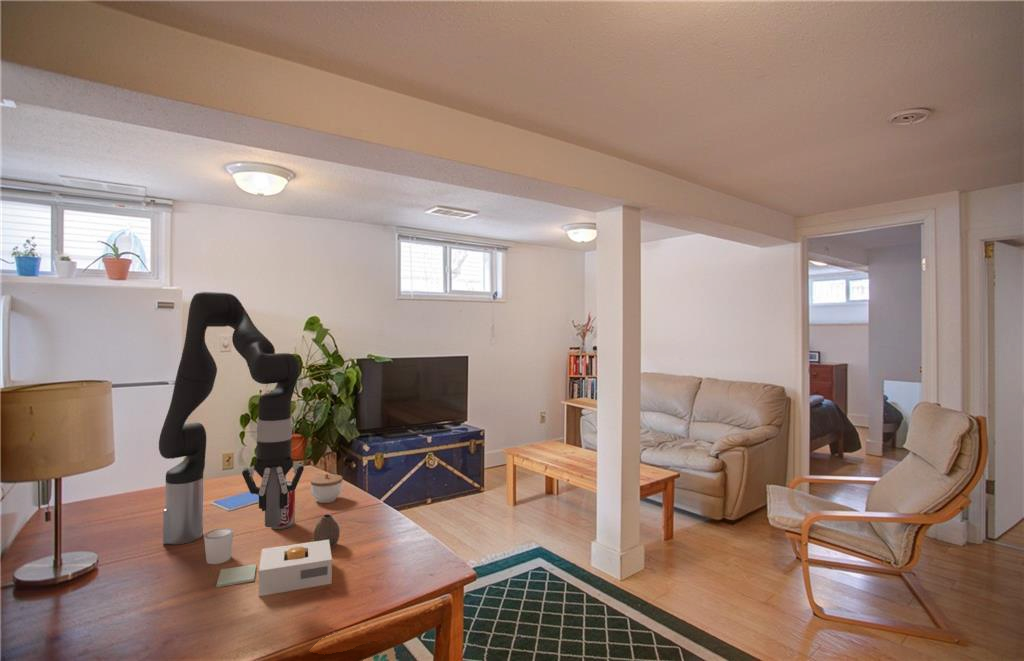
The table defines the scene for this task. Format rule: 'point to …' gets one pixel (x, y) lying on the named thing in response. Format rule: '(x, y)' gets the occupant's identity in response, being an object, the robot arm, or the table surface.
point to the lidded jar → (326, 487)
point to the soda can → (288, 511)
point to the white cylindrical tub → (218, 545)
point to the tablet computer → (237, 501)
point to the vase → (327, 530)
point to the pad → (236, 575)
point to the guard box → (295, 568)
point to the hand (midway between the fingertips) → (273, 508)
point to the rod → (273, 499)
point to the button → (296, 553)
